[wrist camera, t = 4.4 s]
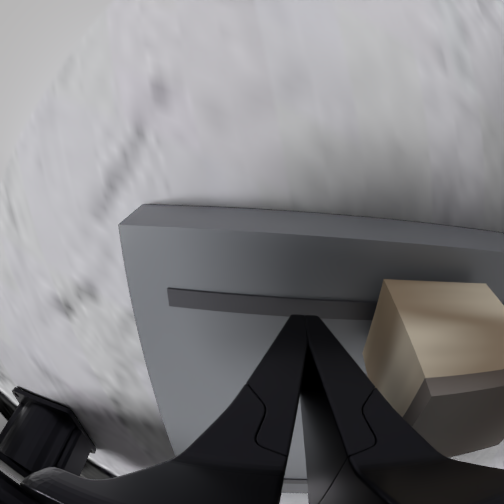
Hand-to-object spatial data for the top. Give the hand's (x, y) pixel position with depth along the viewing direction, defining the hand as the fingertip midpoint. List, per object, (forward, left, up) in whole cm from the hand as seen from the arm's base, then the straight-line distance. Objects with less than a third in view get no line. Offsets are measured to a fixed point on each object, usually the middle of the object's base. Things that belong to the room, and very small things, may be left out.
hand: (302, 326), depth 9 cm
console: (+3, -7, -3) cm, 8 cm away
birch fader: (+4, 0, -1) cm, 4 cm away
